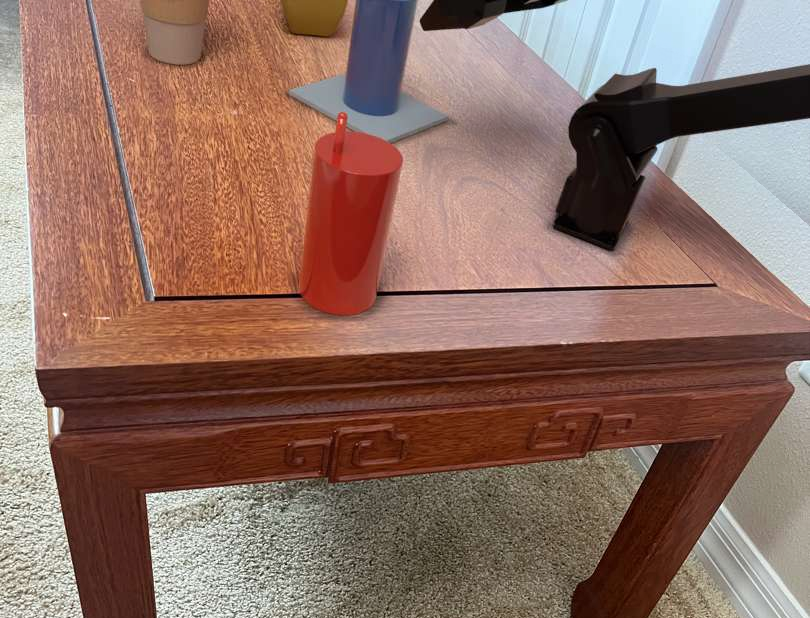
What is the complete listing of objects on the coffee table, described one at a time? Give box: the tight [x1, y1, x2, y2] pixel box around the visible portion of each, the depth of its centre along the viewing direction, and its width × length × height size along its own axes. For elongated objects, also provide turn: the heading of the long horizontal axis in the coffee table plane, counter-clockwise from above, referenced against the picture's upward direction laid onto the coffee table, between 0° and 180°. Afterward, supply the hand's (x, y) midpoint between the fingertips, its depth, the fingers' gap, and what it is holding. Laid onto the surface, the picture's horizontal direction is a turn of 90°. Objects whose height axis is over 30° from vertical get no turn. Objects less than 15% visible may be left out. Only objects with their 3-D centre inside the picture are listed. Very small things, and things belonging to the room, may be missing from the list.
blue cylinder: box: [343, 0, 419, 116], centre depth 88 cm, size 6×6×15 cm
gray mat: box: [288, 72, 449, 144], centre depth 94 cm, size 14×12×1 cm
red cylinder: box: [298, 112, 404, 316], centre depth 62 cm, size 6×6×16 cm
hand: (450, 18), depth 81 cm, fingers open, 9 cm apart
